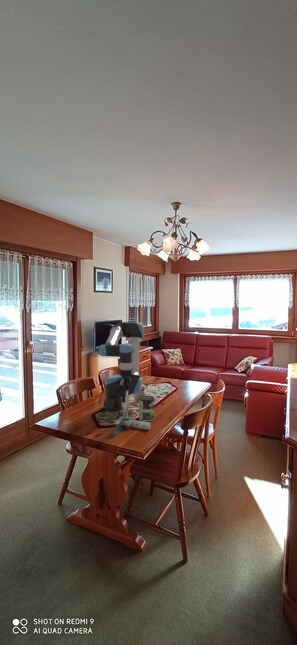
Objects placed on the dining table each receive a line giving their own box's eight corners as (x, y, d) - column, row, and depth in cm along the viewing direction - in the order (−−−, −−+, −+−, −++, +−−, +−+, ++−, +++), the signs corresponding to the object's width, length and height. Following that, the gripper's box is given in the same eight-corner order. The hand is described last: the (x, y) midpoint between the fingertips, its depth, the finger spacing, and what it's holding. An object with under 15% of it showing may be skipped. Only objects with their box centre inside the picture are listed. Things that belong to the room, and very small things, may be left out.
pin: (122, 416, 191) (122, 391, 190) (124, 414, 194) (124, 389, 193) (126, 417, 190) (126, 391, 189) (128, 415, 193) (129, 390, 192)
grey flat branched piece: (107, 434, 179) (107, 428, 178) (122, 422, 198) (122, 415, 198) (139, 440, 172) (140, 433, 171) (152, 426, 191) (152, 420, 191)
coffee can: (157, 417, 206) (157, 396, 205) (148, 422, 198) (149, 401, 197) (144, 414, 212) (144, 394, 211) (135, 419, 203) (135, 398, 202)
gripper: (125, 372, 181) (125, 411, 183) (136, 367, 197) (136, 403, 198) (114, 371, 184) (114, 409, 185) (125, 366, 199) (125, 401, 200)
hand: (125, 406), depth 192 cm, fingers closed on pin, 3 cm apart
